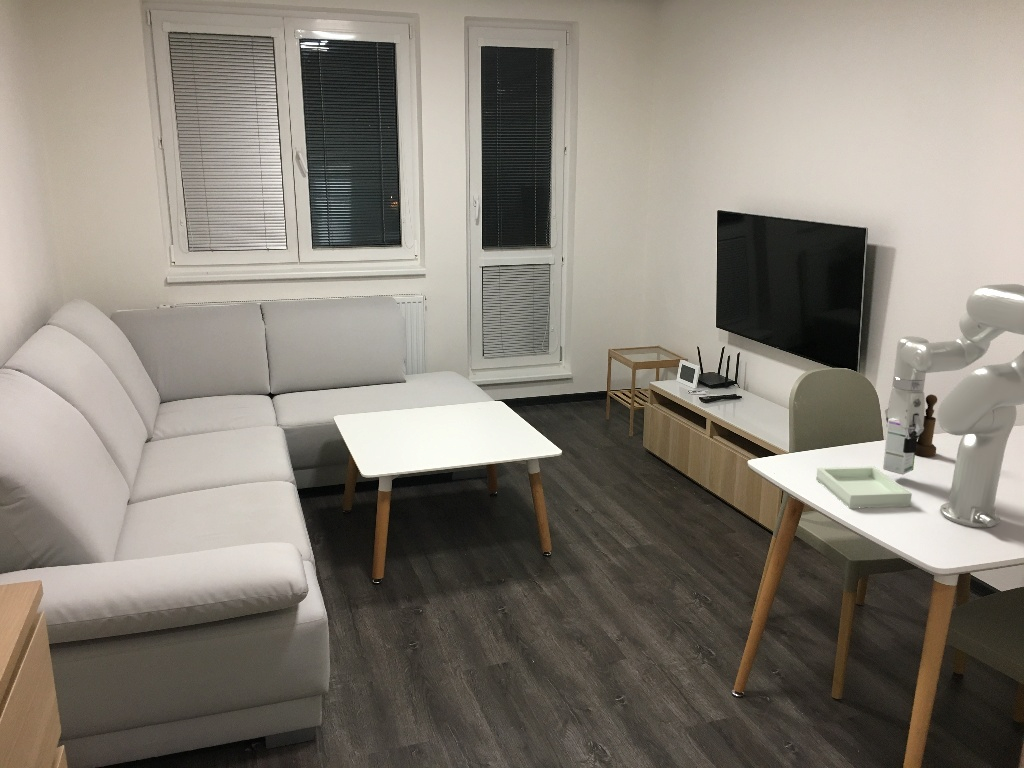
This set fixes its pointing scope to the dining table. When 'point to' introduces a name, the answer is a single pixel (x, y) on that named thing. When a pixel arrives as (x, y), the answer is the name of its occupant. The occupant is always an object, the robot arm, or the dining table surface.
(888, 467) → the syrup box
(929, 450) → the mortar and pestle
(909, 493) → the tray
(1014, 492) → the dining table surface
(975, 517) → the robot arm
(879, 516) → the dining table surface
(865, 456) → the dining table surface
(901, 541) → the dining table surface
